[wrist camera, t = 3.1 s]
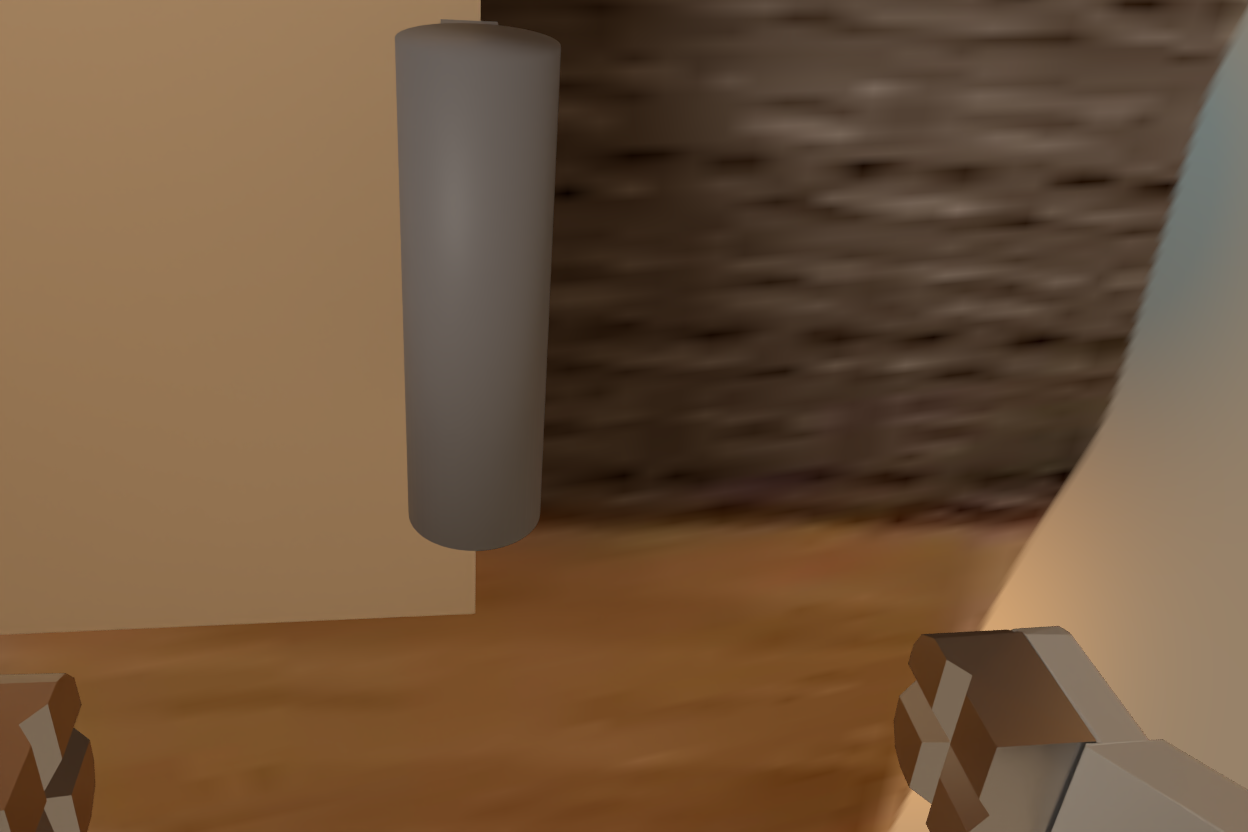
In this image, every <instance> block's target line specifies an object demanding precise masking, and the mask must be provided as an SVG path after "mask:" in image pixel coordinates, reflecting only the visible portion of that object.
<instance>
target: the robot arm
mask: <svg viewBox="0 0 1248 832" xmlns="http://www.w3.org/2000/svg"><path fill="white" fill-rule="evenodd" d="M908 664H909V666H910V668H911V670H912V672H913V674H914V676H915V678H916V681H915V682H914V683H913V684H912V685H911V686H910V687H908V688H907V689H906V690H905V691H904V692H903V693H902V694H901V695H900V696H899V700H898V704H897V709H896V713H895V717H894V735H895V749H896V752H897V756H898V760H899V764H900V768H901V770H902V772H903V774H904V777H905V779H906V781H907V783H908V786H909V788H911V789H912V790H913V791H915V792H916V793H918V794H919V795H920V796H922V797H923V798H924V799H926V800H927V801H928V802H930V803H931V804H932V805H931V808H930V812H929V815H928V818H927V821H926V825H927V827H928V829H929V831H930V832H1248V790H1247V789H1246V788H1244V787H1242V786H1240V785H1238V784H1237V783H1235V782H1234V781H1232V780H1230V779H1229V778H1227V777H1225V776H1224V775H1222V774H1220V773H1218V772H1217V771H1215V770H1214V769H1212V768H1210V767H1208V766H1207V765H1205V764H1203V763H1202V762H1200V761H1198V760H1197V759H1195V758H1193V757H1192V756H1190V755H1188V754H1187V753H1185V752H1183V751H1181V750H1180V749H1178V748H1176V747H1175V746H1173V745H1171V744H1170V743H1168V742H1166V741H1165V740H1163V739H1162V740H1149V739H1148V738H1147V737H1146V735H1145V734H1144V733H1143V731H1142V730H1141V728H1140V727H1139V726H1138V724H1137V723H1136V722H1135V720H1134V719H1133V718H1132V716H1131V715H1130V714H1129V712H1128V711H1127V709H1126V708H1125V707H1124V705H1123V704H1122V703H1121V701H1120V700H1119V699H1118V697H1117V696H1116V695H1115V693H1114V692H1113V690H1112V689H1111V688H1110V687H1109V685H1108V684H1107V682H1106V681H1105V680H1104V678H1103V677H1102V675H1101V674H1100V673H1099V671H1098V670H1097V669H1096V667H1095V666H1094V665H1093V663H1092V662H1091V661H1090V659H1089V658H1088V656H1087V655H1086V654H1085V652H1084V651H1083V650H1082V648H1081V647H1080V646H1079V644H1078V643H1077V642H1076V640H1075V639H1074V637H1073V636H1072V635H1071V634H1070V633H1069V632H1068V631H1066V630H1065V629H1063V628H1061V627H1060V626H1054V627H1053V626H1052V627H1035V628H1020V629H1013V630H993V631H974V632H956V633H937V634H921V636H920V637H919V638H918V640H917V641H916V642H915V643H914V645H913V648H912V652H911V655H910V659H909V662H908ZM81 705H82V704H81V700H80V697H79V693H78V690H77V686H76V682H75V679H74V677H72V676H70V675H68V674H66V673H51V674H7V675H0V832H87V829H88V826H89V823H90V819H91V815H92V807H93V799H94V791H95V769H94V757H93V753H92V748H91V743H90V740H89V739H88V738H86V737H85V736H84V735H83V734H81V733H80V732H79V731H77V730H76V729H75V728H73V727H74V725H75V722H76V719H77V716H78V713H79V710H80V708H81Z"/></svg>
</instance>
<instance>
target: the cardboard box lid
mask: <svg viewBox="0 0 1248 832" xmlns="http://www.w3.org/2000/svg"><path fill="white" fill-rule="evenodd" d="M560 60H561V44H560V43H559V42H558V41H557V40H556V39H554V38H552V37H550V36H547V35H545V34H542V33H538V32H535V31H531V30H526V29H521V28H516V27H509V26H502V25H498V22H493V21H481V0H0V635H8V634H30V633H53V632H75V631H98V630H120V629H143V628H165V627H188V626H210V625H233V624H255V623H278V622H300V621H323V620H346V619H368V618H391V617H413V616H436V615H458V614H475V581H476V551H482V550H491V549H497V548H501V547H504V546H507V545H510V544H513V543H515V542H517V541H519V540H521V539H522V538H524V537H525V536H527V535H528V534H529V533H530V532H531V531H532V530H533V529H534V528H535V526H536V525H537V523H538V521H539V517H540V506H541V484H542V461H543V439H544V417H545V395H546V372H547V350H548V328H549V305H550V283H551V261H552V239H553V216H554V194H555V172H556V149H557V127H558V105H559V82H560Z"/></svg>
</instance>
